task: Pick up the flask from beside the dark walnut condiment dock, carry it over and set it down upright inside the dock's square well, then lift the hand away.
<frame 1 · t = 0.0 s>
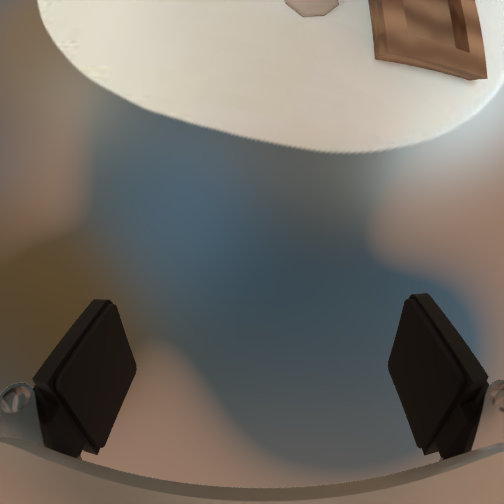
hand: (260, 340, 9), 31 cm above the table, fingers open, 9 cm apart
condiment dock: (421, 19, 27), on the table
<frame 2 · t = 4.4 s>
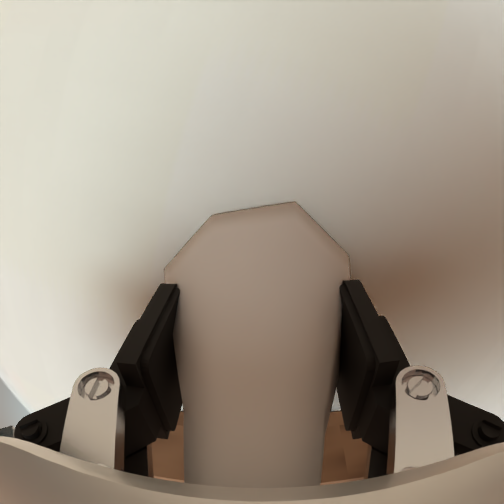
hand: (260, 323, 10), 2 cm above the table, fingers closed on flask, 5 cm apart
condiment dock: (252, 471, 18), on the table
flask: (261, 290, 12), on the table, touching gripper
when the fingers open (4 cm above the table, at t = 10.6 s): flask drops 1 cm, resting on condiment dock.
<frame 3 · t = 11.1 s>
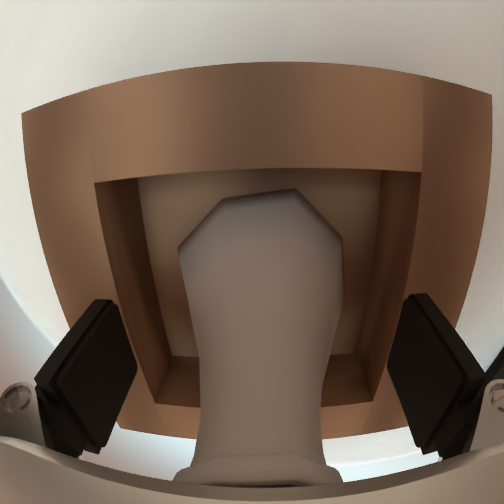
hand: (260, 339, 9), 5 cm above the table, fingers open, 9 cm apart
digital camera: (487, 378, 18), on the table
condiment dock: (262, 263, 14), on the table
flask: (264, 268, 13), point 1 cm above the table, touching condiment dock
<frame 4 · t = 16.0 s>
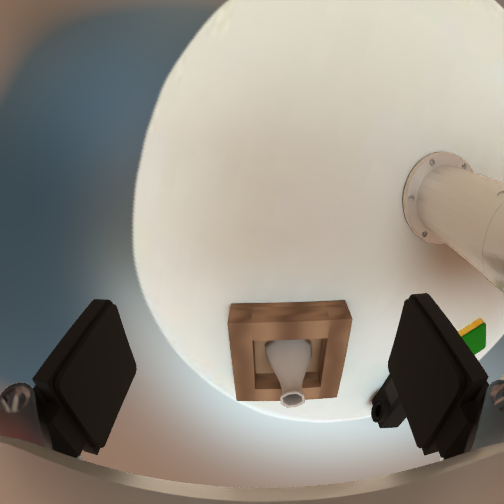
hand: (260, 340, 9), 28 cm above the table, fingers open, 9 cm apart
digital camera: (389, 383, 49), on the table
condiment dock: (287, 346, 45), on the table
flask: (288, 348, 44), point 1 cm above the table, touching condiment dock
dish sponge: (451, 345, 46), on the table
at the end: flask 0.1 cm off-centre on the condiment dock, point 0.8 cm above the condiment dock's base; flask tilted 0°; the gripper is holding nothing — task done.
